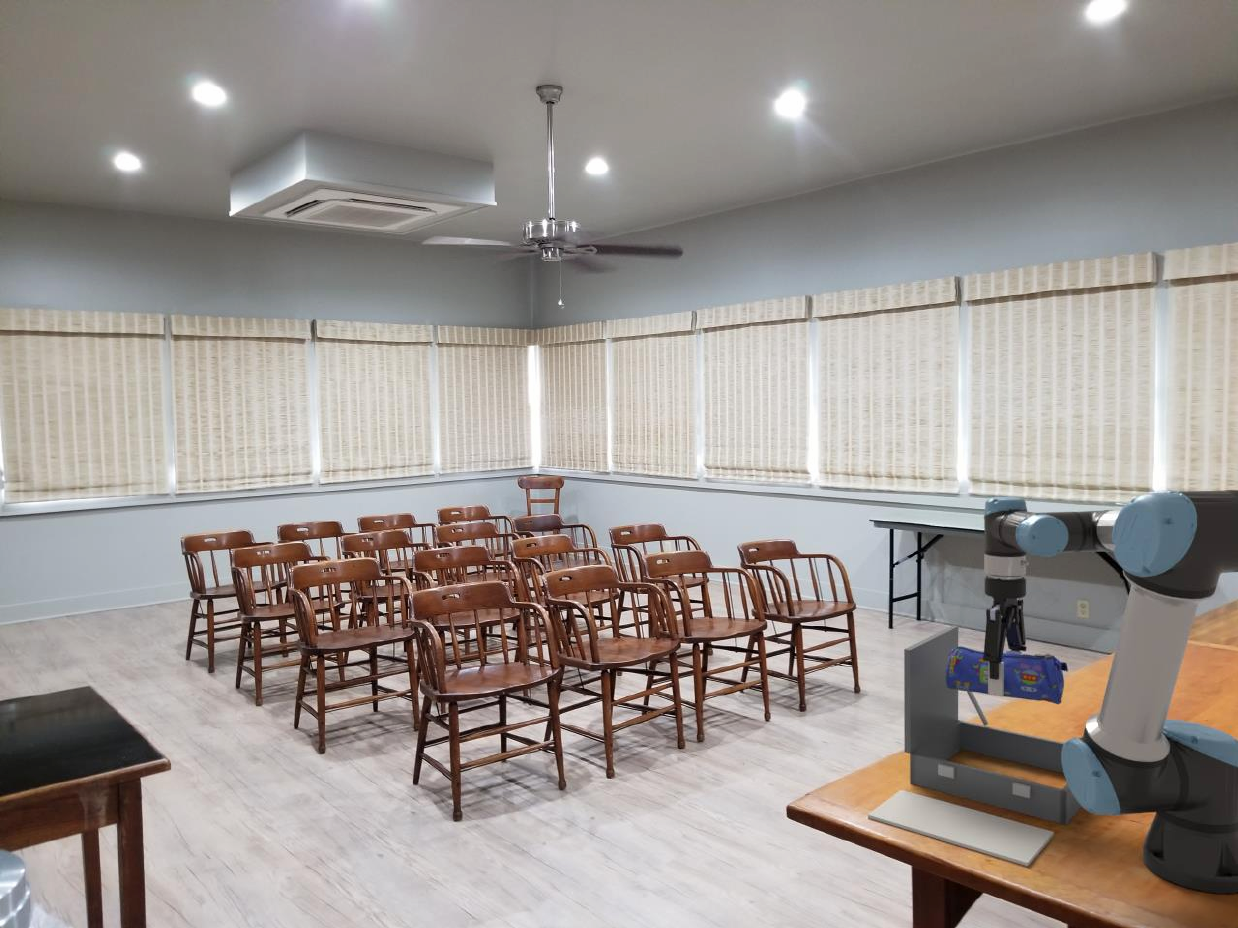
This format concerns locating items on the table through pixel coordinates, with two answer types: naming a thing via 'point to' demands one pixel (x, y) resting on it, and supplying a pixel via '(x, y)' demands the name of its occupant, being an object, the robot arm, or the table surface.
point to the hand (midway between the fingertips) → (1005, 688)
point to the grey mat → (963, 827)
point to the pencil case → (1008, 674)
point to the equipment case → (971, 741)
